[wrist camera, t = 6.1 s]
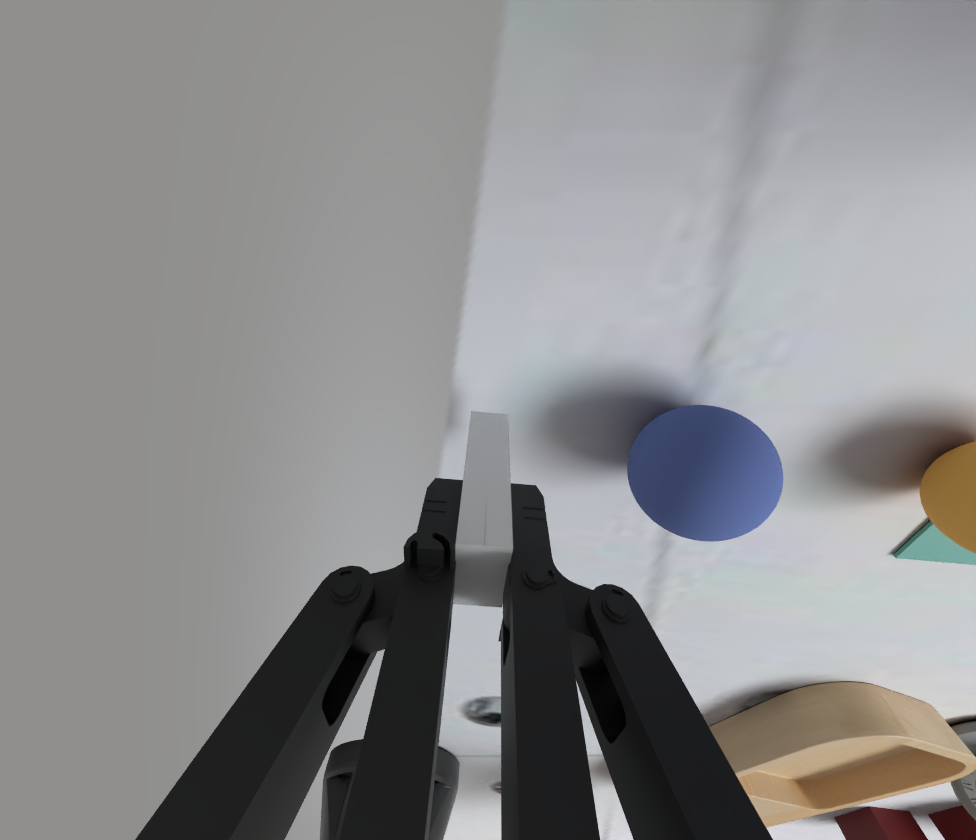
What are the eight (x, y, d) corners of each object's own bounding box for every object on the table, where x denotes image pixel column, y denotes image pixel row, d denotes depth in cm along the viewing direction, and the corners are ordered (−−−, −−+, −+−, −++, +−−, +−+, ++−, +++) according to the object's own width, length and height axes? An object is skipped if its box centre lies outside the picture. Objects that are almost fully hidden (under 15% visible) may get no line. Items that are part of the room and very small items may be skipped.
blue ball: (600, 472, 19) (632, 565, 14) (633, 376, 16) (687, 454, 11) (704, 481, 19) (769, 576, 15) (756, 388, 16) (859, 470, 12)
